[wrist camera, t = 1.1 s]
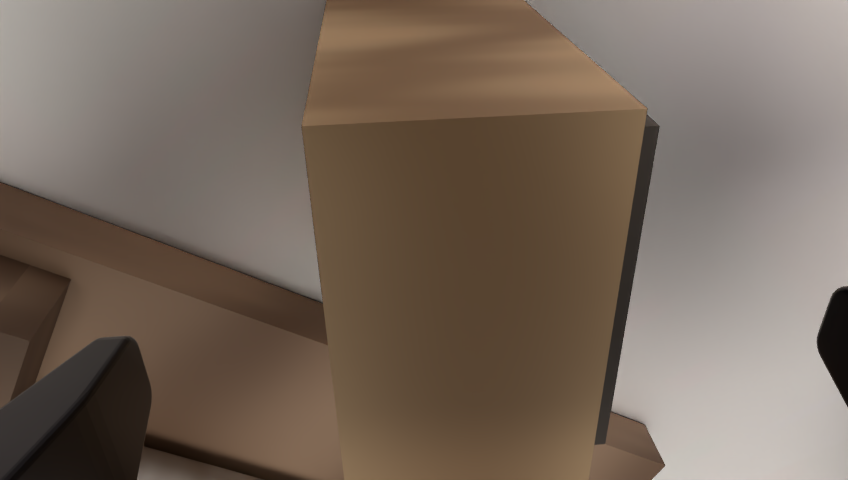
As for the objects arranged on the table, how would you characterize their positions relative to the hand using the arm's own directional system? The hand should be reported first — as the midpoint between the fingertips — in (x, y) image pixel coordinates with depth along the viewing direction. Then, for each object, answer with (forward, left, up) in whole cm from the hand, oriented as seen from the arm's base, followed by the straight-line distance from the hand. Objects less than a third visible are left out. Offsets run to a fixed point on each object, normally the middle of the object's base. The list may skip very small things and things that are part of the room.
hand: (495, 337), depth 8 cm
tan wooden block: (0, 0, -7) cm, 7 cm away
